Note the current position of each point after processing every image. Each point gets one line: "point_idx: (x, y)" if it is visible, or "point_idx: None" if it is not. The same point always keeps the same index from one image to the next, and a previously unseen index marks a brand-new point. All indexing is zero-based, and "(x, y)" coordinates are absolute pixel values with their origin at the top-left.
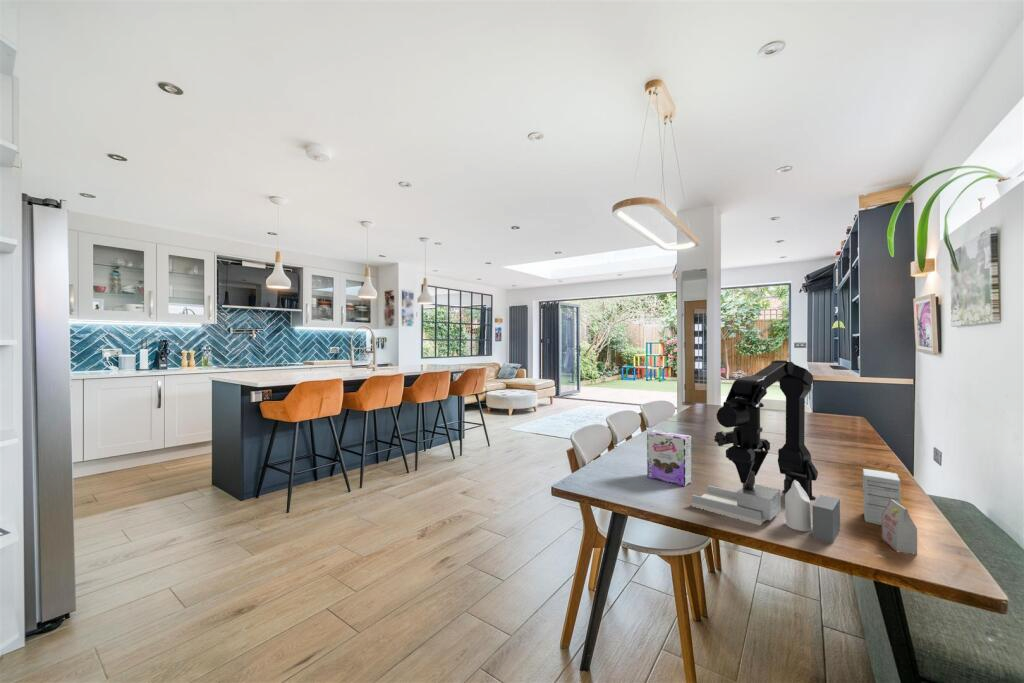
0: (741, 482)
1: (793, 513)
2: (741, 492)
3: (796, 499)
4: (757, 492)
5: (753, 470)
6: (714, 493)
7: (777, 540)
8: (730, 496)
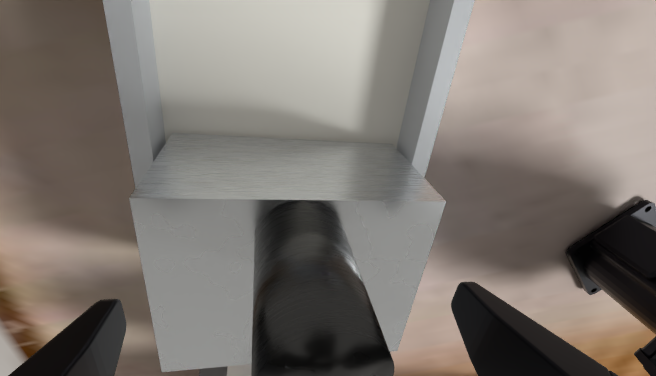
0: (97, 303)
1: (227, 370)
2: (144, 227)
3: None
4: (248, 296)
5: (485, 333)
6: None
7: (58, 304)
8: (428, 28)
